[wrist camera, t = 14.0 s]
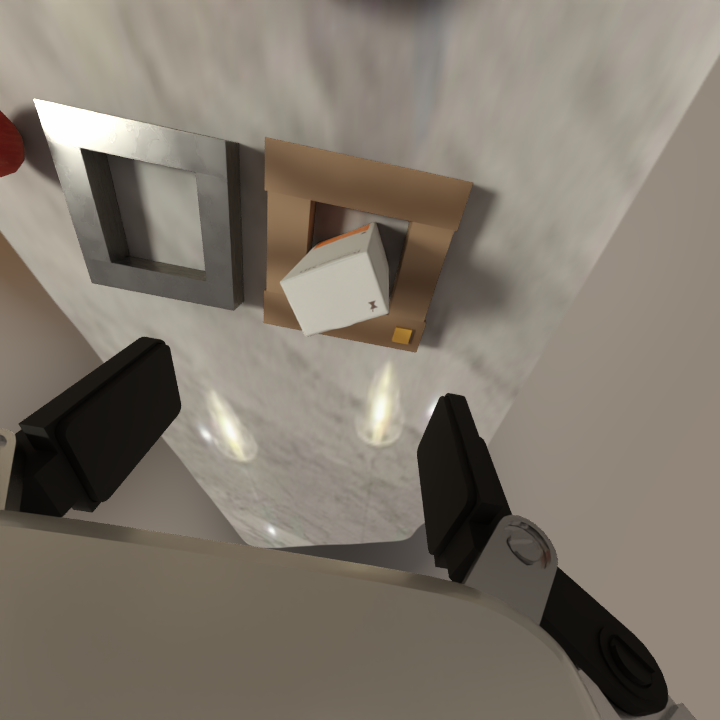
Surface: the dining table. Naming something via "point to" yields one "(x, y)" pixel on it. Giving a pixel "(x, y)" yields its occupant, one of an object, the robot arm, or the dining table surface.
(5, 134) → the onion
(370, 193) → the frame
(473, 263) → the dining table surface
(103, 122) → the gray square frame
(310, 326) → the skincare box
